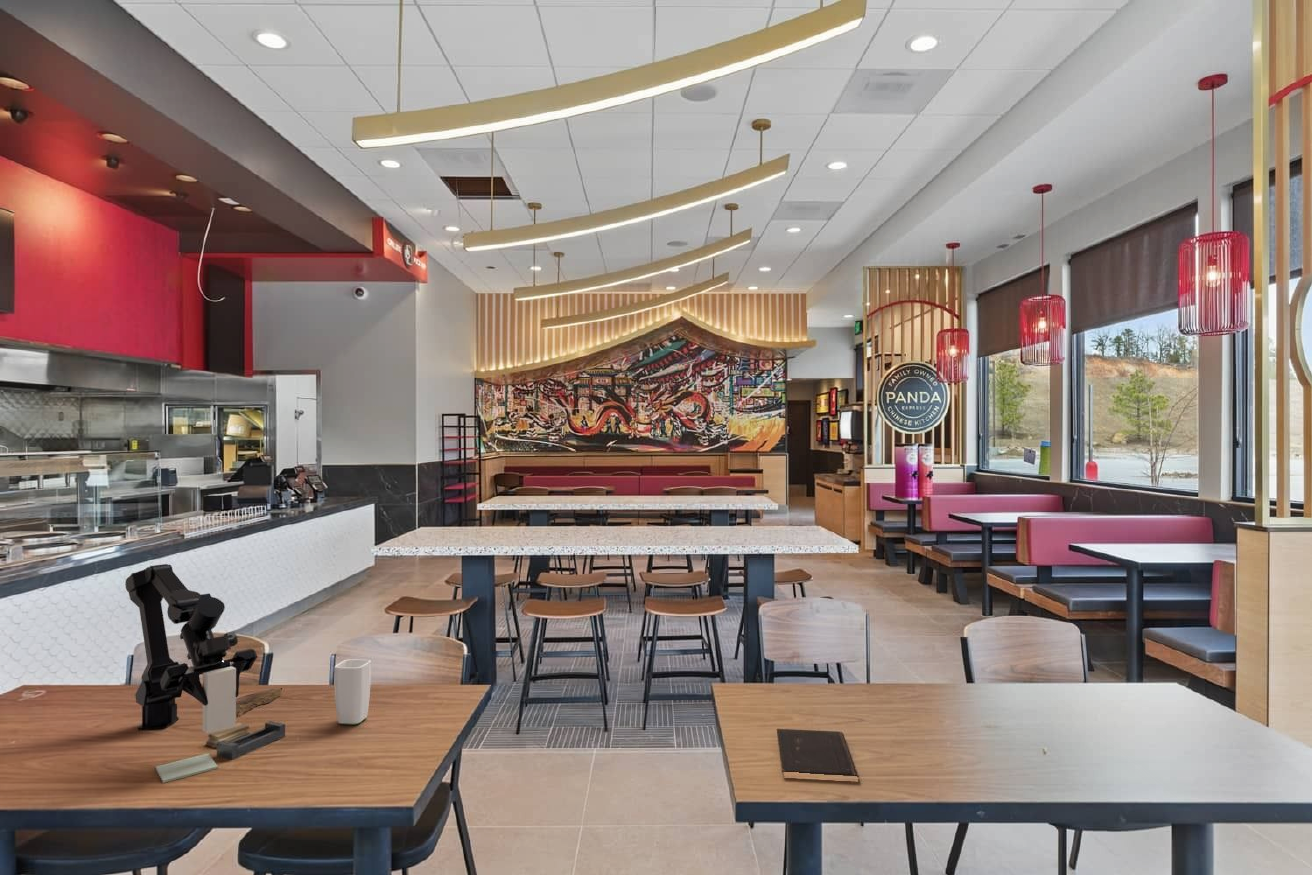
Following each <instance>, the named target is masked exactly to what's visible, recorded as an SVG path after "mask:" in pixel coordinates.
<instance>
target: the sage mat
mask: <svg viewBox="0 0 1312 875" xmlns="http://www.w3.org/2000/svg"><path fill="white" fill-rule="evenodd" d="M155 770H156V772H157V774H158V776H159V778H160V780H161V781H162V784H165V783H167V782H168V783H169V782H172V781H176V780H179V779H183V778H186V777H191V776H195V775H198V774H202V773H206V772H210V771H213V770H218V765H217V763H216V762H215V760H214V759H213V758H212V756H211V755H210V754H209V752H208V753H204V754H200V755H196V756H192V757H189V758H188V757H187V758H184V759H179V760H177V761H172V762H167V763H165V764H160V765H156V766H155Z"/></svg>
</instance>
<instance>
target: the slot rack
mask: <svg viewBox="0 0 1312 875" xmlns="http://www.w3.org/2000/svg"><path fill="white" fill-rule="evenodd" d="M284 737H285V738H286V724H285V723H282V722H276V721H272V720H270V721H267V722H264V727H263V728H259V729H258V730H257V729H256V730H255V731H252V732H250V734H248V735H245V736H243V737H240V738H238V739H235V740H233V741H231V742H228V741H224V740H222V741H220V742H217V748H216V757H219V758H224V759H228V760H235V759H237V758H240V757H241V756H244V755H245V754H249V753H251V752H252V751H255V750H258V749H260V748H262V747H264V746H267V745H269V744H271V743H274V742H276V741H278V740H280V739H283V738H284Z"/></svg>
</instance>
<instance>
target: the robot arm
mask: <svg viewBox="0 0 1312 875" xmlns="http://www.w3.org/2000/svg"><path fill="white" fill-rule="evenodd" d="M125 590H126V591H127V592H128V595H129V600H131V602H133V603H134V605H135V606H137V608H139V609H138V610H139V614H140V616H139V617H140V623H141V628H142V636H143V642H144V648H145V655H146V662H147V663H146V667H145V668H144V670H143V672H142V674H141V675H140V676H141V682H140V684H139V686H138V688H137V690H136V692H135V694H134V696H135V702H136V704H138V705H139V706H141V725H139V726H138V730H153V729H155V730H156V729H158V730H159V729H166V728H168V727H169V726H170V725H172V724H174V723H175V722H176V721H178V720H179V716H178V704H177V703H176V698H182V694H183V691H184V692H185V693H187V694H188V695H190V696H191V697H193V698H194V699H196V700H197V701H198V702H200V703H201V704H202V706H203V705H205V706H206V705H207V704H208V700H207V696H206V694H205V691H204V689H203V684H202V682H201V677H200V675H203V673H205V672H209V671H214V670H218V669H222V668H226V667H231V666H232V667H234V668H236V698H238V696H239V693H240V692H239V690H240V687H239V686H240V674H241V673H242V672H246V671H249V670H250V669H252V666H253V665H254V664H255V662H256V660H257V658H258V654H257V652H256V650H255V649H253V648H247V649H242V650H237V651H236V652H235V653H234V655H233V656H232V657H231V658H228V659H223V658H225V657H226V656H227V651H228V650H231V649H232V647H234V646H236V645H238V642H239V640H238V636H237V634H236V632H235V630H233V631H228V632H226V633H224V634H223V635H222V636H214V633H213V631H212V630H213V629H214V628H215V627H217V626H216V625H217V624H218V622H219V621H220V618H221V617H222V615H223V613H224V611H225V609H226V608H225V603H224V602H223V601H222V600H220V599H219V598H217V597H214V596H212V595H211V593H203V594H201V593H200V592H197V591H193V590H190V589H188V588H187V586H185V584H184V583H183V582H182V581H181V579H180V578H179V577H178V576H177V574H176V573H175V572H174V571H173V566H172V565H171V564H168V563H165V564H155V565H150V566H148V567H146V568H144V569H143V570H139V571H136V572H133V573H131V574H130V575H129V576H128V577H127V578H126V579H125ZM163 599H164V600H165V602H166V603H167V604H168V605H167V617H168V619H169V620H170V621H171V622H172V623H173V624H175V625H177V624H183V623H184V624H183V626H182V627H181V629H180V633H179V634H180V636H179V639H180V640H183V642H184V645H185V646H186V650H187V655H186V657H187V659H188V660H190V661H191V663H192V665H191V666H189V665H188V663H186V662H183V663H179V661H178V662H177V661H174V660H173V659H172V658H171V656H170V652H169V645H168V639H167V638H168V637H167V632H166V627H165V620H164V614H163V612H164V611H163V605H162V601H163Z"/></svg>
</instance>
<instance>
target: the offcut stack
mask: <svg viewBox="0 0 1312 875" xmlns="http://www.w3.org/2000/svg"><path fill="white" fill-rule="evenodd" d="M248 730H250V726H249V725H248V724H244V723H241V722H238V723H236V725H235V726H232V727H228V728H225V729H222V730H218V731H215V732H212V733H208V740H207V741H205V746H206V747H212V748H215V749H217V742H220V741H222V740H224V741H228V742H231V741H233V740H235V739H238V738H240V737H243V736H245V735H248V734H250V733H251V732H249V731H248Z"/></svg>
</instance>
